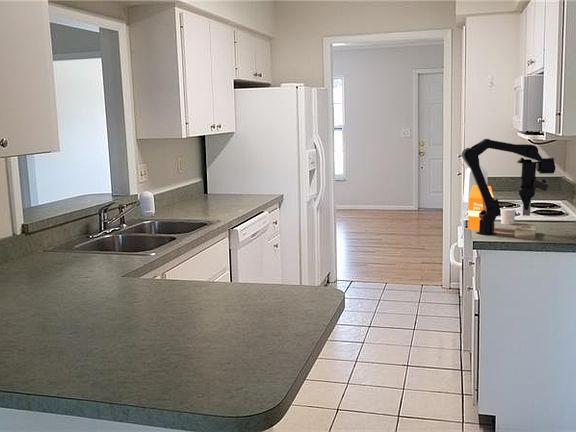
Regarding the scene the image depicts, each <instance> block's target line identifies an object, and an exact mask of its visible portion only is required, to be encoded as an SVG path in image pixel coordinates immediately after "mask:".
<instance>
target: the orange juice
mask: <svg viewBox="0 0 576 432" xmlns="http://www.w3.org/2000/svg"><path fill="white" fill-rule="evenodd" d="M487 186H488V188H489V191H490V193H491V196H492V197H493V198H494V194H493V189H492V186H491V185H487ZM483 209H484V208H483V202H482V196H481V194H480V192H479V189H478V187H477V185H473V186H472V190H471V193H470V196H469V203H468V210H467V211H468V212H467V213H468V218H467V219H468V220H467V229H468V230H477V231H479V224H480V219H481V218H480V217H479V213H480V212H481V211H482V210H483Z"/></svg>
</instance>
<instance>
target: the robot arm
mask: <svg viewBox="0 0 576 432" xmlns="http://www.w3.org/2000/svg"><path fill="white" fill-rule="evenodd" d="M488 149H491V150H499V151H503V152H509V153H513V154H516V155H519V156H521V157H520V158H519V160H517V161H516V163H517V164H521V176H520V188H519V190H518V195H519V197H520V199H521V203H522V206H523V205H524V208H525V210H528V207H529V203H530V200H531V201H532V198H533V197H534V196H536V191H537V190H536V189H539V190H542V191H543V192H545V193H546V192H547V191H548V188H549V186H550V183H547V182H548V181H547V180H546V179H544V178H543V179H541V180H540V179H537V175H536V172H538V173H539V174H540V175H542V174H545V175H546V174H547V175H550V174H553V175H554V173H555V171H556V162H555V161H554V160H555V158H554V157H548V158H543V157H542V156H541V154H540V153H539V148H538V147H537V145H535V144H527V143H525V144H523V143H518V144H515V143H509V142H503V141H498V140H492V139H490V138H483V139H481V141H479V142H478V143H476V144H474V145H472V146H471V147H466V148H464V149H463V150H462V152H461V157H462V159H463V161H464V162H465V164H466V166H467V168H468V167H469V168H470V169H471V172H472V174H473V177H474V179H475V182H476V184H477V187H478V189H479V192H480V194H481V196H482V202H483V208H484V209H483V210H482V211H481V212H480V213H479V217H480V218H481V219H480V224H479V230H478V231H476V232H475V234H480V235H484V236H490V235H491V236H492V235H496V234H498V233H497V232H496V231H495V221H496V218H497V217H499V216H500V215H501V209H502V206H501V205H500V203H499V199H498V198H497V197H494V196H493V197H494V198H493V197H492V196H491V193H490V191H489V188H488V186H489V185H488V183H487V184H486V181H485V179H484V176H483V174H482V171H481V169H480V165H481V164H480V157H479V156H480V155H481V154H483V153H484V152H486V151H487V150H488ZM526 158H527V159H526ZM532 160H534V161H532Z"/></svg>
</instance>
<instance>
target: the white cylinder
mask: <svg viewBox="0 0 576 432" xmlns="http://www.w3.org/2000/svg"><path fill="white" fill-rule="evenodd" d="M516 211H517V210H516V209H514V208H500V222H501V225H507V226H508V225H514V224H515V219H516V218H515V217H516Z"/></svg>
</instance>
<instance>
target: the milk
mask: <svg viewBox="0 0 576 432" xmlns="http://www.w3.org/2000/svg"><path fill="white" fill-rule="evenodd" d="M480 169H481V171H482V174H483V176H484V179H485V181H486V184H487V185H488V171H487V170H486V169H485V168H484V167H483V166H482V165H481V164H480ZM473 185H477V184H476V182H475V179H474V177H473V174H472V172H471V169H470V168H469V167H468V166H467V168H466V169H465V172H464V187H463V196H462V197H463V198H462V201H463V202H465V203H467V204H469V196H470V193H471V190H472V186H473Z"/></svg>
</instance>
